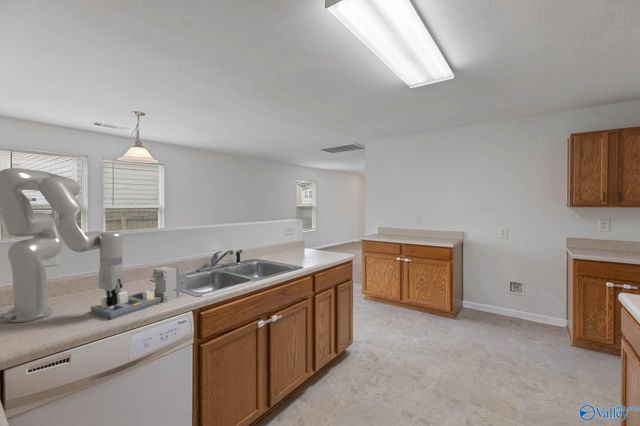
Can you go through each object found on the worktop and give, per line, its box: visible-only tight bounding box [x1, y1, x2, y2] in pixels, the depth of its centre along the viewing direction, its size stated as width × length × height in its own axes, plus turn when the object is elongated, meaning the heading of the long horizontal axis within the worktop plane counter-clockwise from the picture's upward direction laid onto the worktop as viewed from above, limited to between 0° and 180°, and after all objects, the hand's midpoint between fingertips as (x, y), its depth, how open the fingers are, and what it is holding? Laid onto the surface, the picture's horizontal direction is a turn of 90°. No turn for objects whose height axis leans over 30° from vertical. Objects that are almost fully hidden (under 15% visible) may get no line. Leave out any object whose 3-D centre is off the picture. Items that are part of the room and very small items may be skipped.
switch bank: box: [90, 291, 162, 320], centre depth 125 cm, size 21×15×3 cm
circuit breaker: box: [152, 265, 188, 303], centre depth 139 cm, size 8×14×15 cm, turn 155°
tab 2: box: [117, 290, 129, 304], centre depth 127 cm, size 4×3×5 cm
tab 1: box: [100, 296, 114, 310], centre depth 119 cm, size 4×3×5 cm
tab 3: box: [142, 288, 155, 300], centre depth 129 cm, size 4×3×5 cm
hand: (112, 305), depth 118 cm, fingers closed
